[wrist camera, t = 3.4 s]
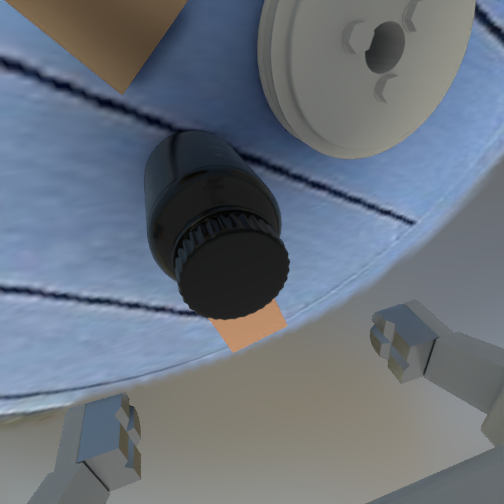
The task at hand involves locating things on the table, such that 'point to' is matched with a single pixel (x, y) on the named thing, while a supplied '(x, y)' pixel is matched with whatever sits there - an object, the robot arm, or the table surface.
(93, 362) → the table surface
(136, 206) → the table surface
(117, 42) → the walnut block
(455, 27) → the light grey thick disc
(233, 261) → the supplement bottle
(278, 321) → the terracotta block
